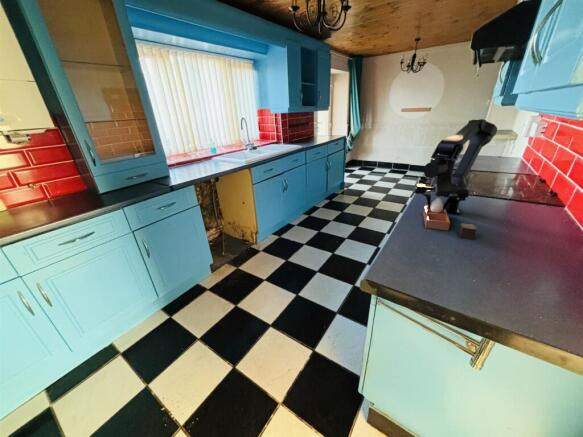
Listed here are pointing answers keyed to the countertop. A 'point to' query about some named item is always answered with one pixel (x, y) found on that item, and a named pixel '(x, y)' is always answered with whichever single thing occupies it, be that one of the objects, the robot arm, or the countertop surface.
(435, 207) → the egg
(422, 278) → the countertop surface
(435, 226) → the tray
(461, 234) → the walnut block
